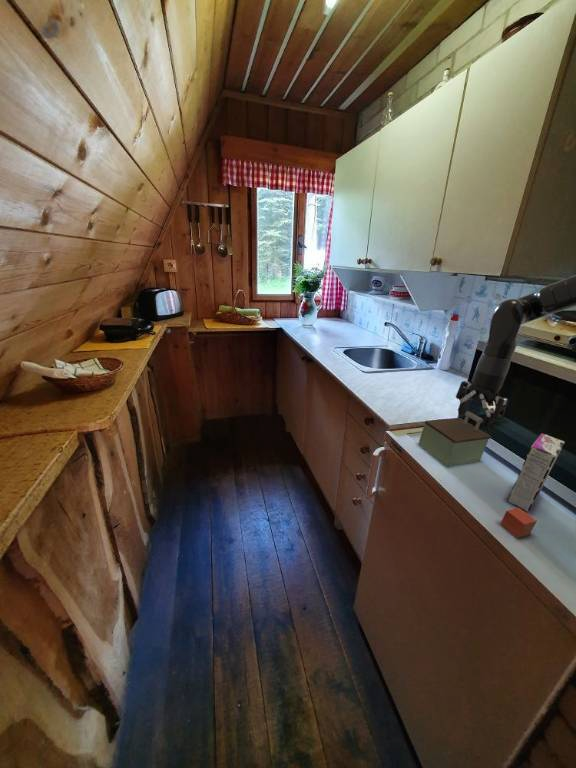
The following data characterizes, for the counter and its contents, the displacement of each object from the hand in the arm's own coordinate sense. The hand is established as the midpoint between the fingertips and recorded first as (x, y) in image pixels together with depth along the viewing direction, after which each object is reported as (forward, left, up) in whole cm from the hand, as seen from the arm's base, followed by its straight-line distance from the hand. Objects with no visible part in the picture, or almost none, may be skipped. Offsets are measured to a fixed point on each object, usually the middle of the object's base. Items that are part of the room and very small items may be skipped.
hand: (472, 420), depth 93 cm
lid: (+5, 0, -3) cm, 6 cm away
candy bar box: (+2, +21, -11) cm, 24 cm away
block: (+15, +28, -11) cm, 34 cm away
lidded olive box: (+6, 0, -11) cm, 12 cm away
